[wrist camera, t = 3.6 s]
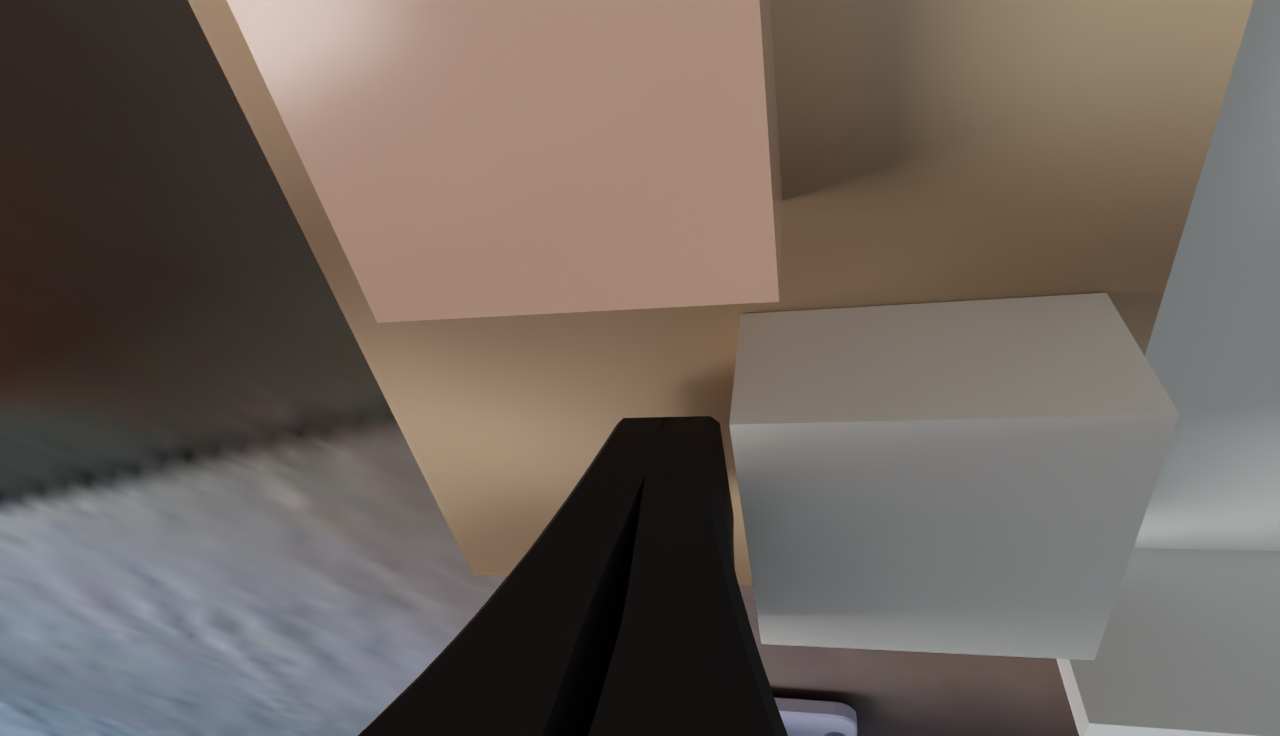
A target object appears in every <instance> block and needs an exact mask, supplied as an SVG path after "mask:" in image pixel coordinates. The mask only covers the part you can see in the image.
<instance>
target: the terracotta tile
mask: <svg viewBox="0 0 1280 736" xmlns="http://www.w3.org/2000/svg"><path fill="white" fill-rule="evenodd" d="M227 2H228V4H229V6H230V8H231V10H232V12H233V15H234V17H235V19H236V21H237V23H238V25H239V27H240V30H241V32H242V34H243V36H244V38H245V40H246V42H247V45H248V47H249V49H250V51H251V53H252V55H253V57H254V60H255V62H256V64H257V66H258V68H259V70H260V72H261V75H262V77H263V79H264V81H265V83H266V85H267V87H268V90H269V92H270V94H271V96H272V98H273V100H274V102H275V105H276V107H277V109H278V111H279V113H280V115H281V117H282V120H283V122H284V124H285V126H286V128H287V130H288V132H289V135H290V137H291V139H292V141H293V143H294V145H295V147H296V150H297V152H298V154H299V156H300V158H301V160H302V162H303V165H304V167H305V169H306V171H307V173H308V175H309V177H310V180H311V182H312V184H313V186H314V188H315V190H316V192H317V195H318V197H319V199H320V201H321V203H322V205H323V207H324V210H325V212H326V214H327V216H328V218H329V220H330V222H331V225H332V227H333V229H334V231H335V233H336V235H337V237H338V240H339V242H340V244H341V246H342V248H343V250H344V252H345V255H346V257H347V259H348V261H349V263H350V265H351V267H352V270H353V272H354V274H355V276H356V278H357V280H358V282H359V285H360V287H361V289H362V291H363V293H364V295H365V297H366V300H367V302H368V304H369V306H370V308H371V310H372V312H373V315H374V317H375V319H376V321H377V323H381V322H400V321H419V320H439V319H458V318H477V317H496V316H515V315H534V314H553V313H573V312H592V311H611V310H630V309H649V308H668V307H688V306H707V305H726V304H745V303H764V302H779V292H780V260H781V228H782V187H781V169H780V152H779V134H778V117H777V99H776V81H775V64H774V46H773V29H772V11H771V0H227Z"/></svg>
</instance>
